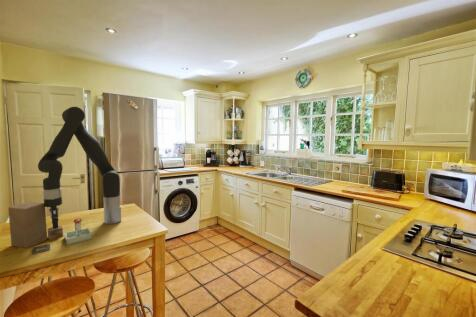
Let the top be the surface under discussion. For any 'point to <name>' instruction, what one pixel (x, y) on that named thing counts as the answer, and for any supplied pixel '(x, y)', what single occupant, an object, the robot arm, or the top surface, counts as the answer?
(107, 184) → the robot arm
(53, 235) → the block
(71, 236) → the tray
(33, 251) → the pin socket
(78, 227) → the pin
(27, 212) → the wooden block
